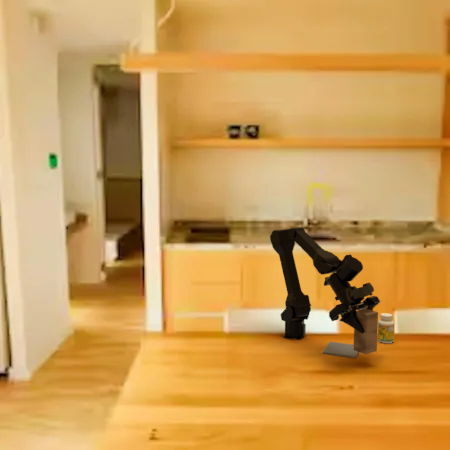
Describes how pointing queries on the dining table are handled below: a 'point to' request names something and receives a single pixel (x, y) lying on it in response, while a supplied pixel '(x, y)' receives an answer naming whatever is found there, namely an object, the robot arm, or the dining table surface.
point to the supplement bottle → (386, 328)
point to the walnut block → (366, 332)
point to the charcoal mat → (341, 350)
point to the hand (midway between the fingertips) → (369, 331)
